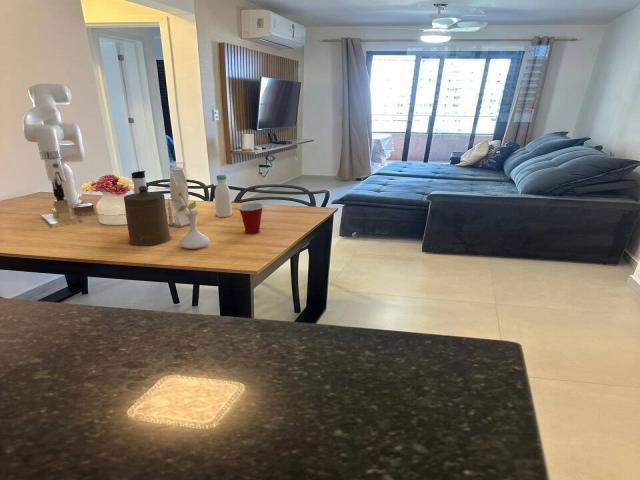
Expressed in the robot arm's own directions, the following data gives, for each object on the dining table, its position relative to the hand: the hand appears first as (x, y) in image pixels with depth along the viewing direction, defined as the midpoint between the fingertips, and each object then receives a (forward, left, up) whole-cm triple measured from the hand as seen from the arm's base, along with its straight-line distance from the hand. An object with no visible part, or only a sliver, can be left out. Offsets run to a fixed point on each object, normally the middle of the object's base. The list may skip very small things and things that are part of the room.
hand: (59, 196), depth 171 cm
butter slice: (+1, +1, -11) cm, 11 cm away
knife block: (-13, +1, -12) cm, 18 cm away
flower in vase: (+28, +69, -12) cm, 75 cm away
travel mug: (-27, +24, -12) cm, 38 cm away
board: (-4, -4, -12) cm, 14 cm away
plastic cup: (+8, +88, -12) cm, 89 cm away
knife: (0, 0, -10) cm, 10 cm away
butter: (-6, -7, -11) cm, 14 cm away
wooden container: (+21, +49, -12) cm, 54 cm away
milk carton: (-1, +54, -12) cm, 55 cm away
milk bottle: (-18, +69, -12) cm, 72 cm away
